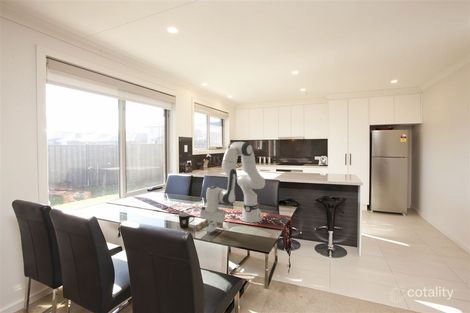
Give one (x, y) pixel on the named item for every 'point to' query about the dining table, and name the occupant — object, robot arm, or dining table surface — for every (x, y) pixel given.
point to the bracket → (211, 227)
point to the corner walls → (206, 224)
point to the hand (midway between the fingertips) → (212, 226)
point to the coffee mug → (184, 220)
